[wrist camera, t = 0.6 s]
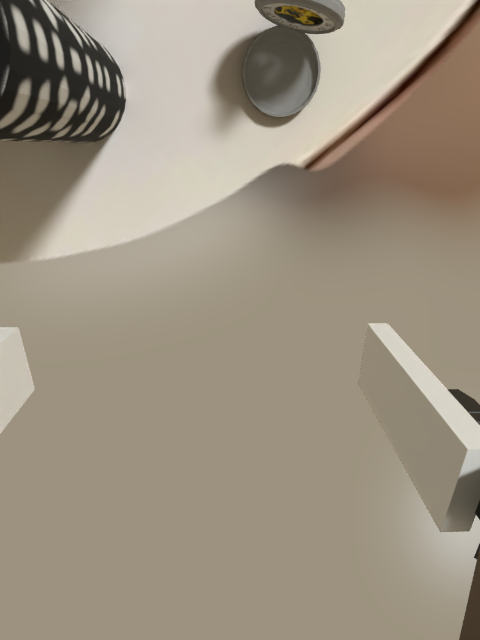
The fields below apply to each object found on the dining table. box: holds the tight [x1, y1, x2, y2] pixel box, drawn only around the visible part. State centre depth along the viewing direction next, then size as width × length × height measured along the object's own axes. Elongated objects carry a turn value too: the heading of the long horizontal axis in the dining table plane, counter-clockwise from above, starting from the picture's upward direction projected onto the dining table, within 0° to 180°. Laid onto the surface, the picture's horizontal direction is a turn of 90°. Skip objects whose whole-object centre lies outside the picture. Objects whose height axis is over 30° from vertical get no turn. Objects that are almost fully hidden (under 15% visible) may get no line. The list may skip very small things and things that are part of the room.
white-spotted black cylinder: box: [0, 0, 126, 143], centre depth 24 cm, size 8×8×20 cm
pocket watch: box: [243, 0, 345, 117], centre depth 28 cm, size 8×8×10 cm
